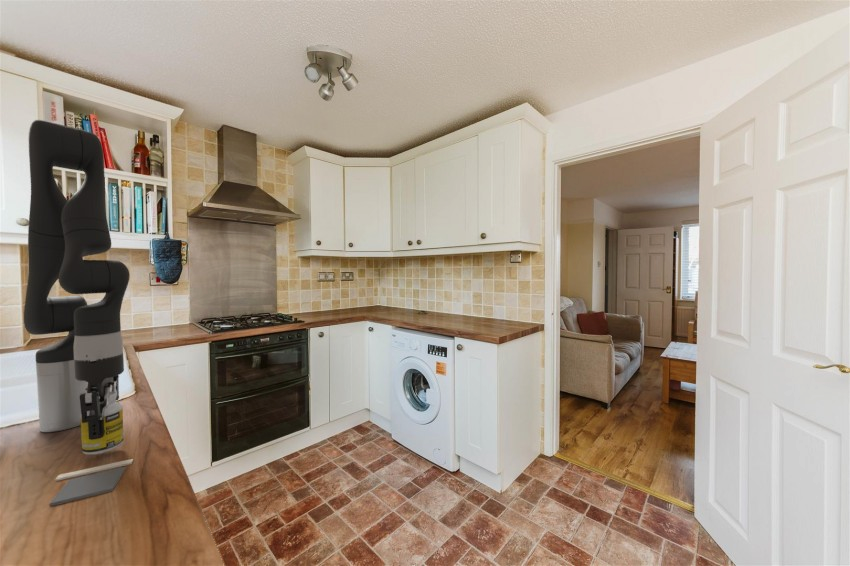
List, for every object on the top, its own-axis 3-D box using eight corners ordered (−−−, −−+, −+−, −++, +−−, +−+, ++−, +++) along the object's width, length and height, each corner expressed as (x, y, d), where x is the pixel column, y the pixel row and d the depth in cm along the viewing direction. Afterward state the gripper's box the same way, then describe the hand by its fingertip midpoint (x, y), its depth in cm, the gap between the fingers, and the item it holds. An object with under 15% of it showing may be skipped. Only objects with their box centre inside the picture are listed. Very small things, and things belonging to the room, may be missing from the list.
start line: (59, 476, 65) (59, 474, 65) (133, 460, 70) (133, 458, 70) (55, 481, 63) (55, 478, 63) (131, 464, 69) (131, 462, 69)
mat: (69, 481, 63) (69, 479, 63) (125, 469, 67) (125, 466, 67) (49, 506, 56) (49, 503, 56) (112, 490, 60) (112, 488, 60)
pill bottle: (98, 457, 68) (95, 401, 68) (73, 454, 70) (70, 399, 69) (131, 441, 75) (129, 390, 74) (108, 438, 76) (106, 388, 75)
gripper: (88, 348, 76) (92, 421, 76) (58, 365, 63) (63, 451, 64) (131, 345, 79) (134, 414, 80) (111, 359, 67) (115, 441, 68)
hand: (102, 430), depth 72 cm, fingers closed on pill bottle, 6 cm apart
